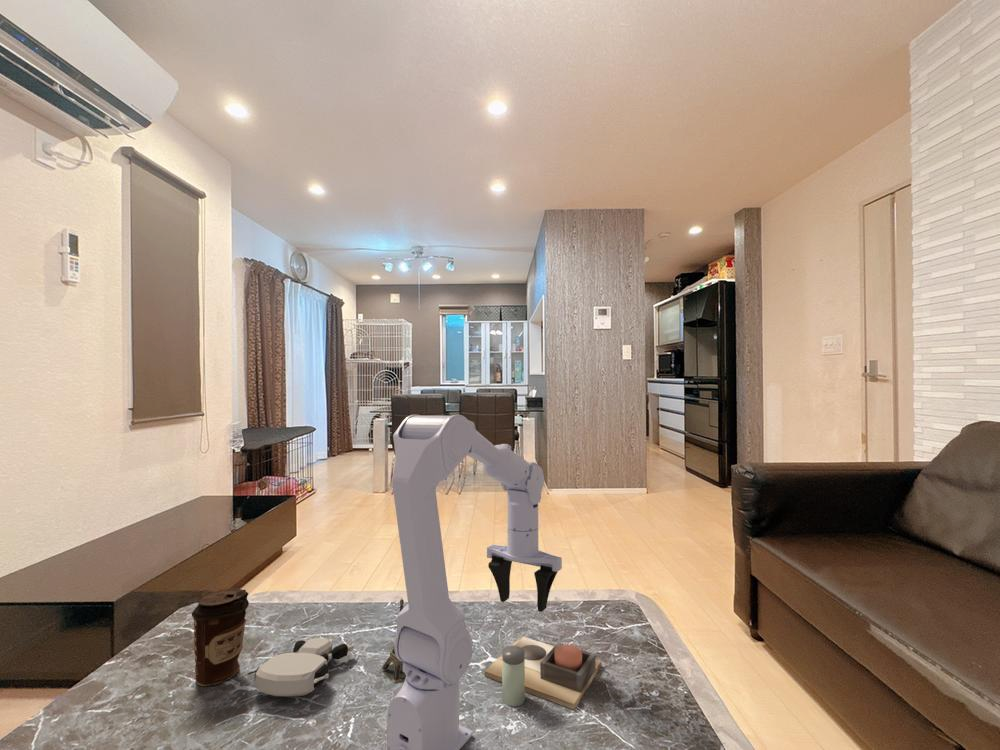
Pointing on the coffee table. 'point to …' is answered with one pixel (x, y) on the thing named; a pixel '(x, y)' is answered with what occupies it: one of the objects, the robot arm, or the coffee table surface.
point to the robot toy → (298, 668)
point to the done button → (568, 657)
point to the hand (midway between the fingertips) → (523, 604)
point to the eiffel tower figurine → (394, 663)
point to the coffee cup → (219, 635)
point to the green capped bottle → (513, 676)
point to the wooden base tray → (550, 673)
